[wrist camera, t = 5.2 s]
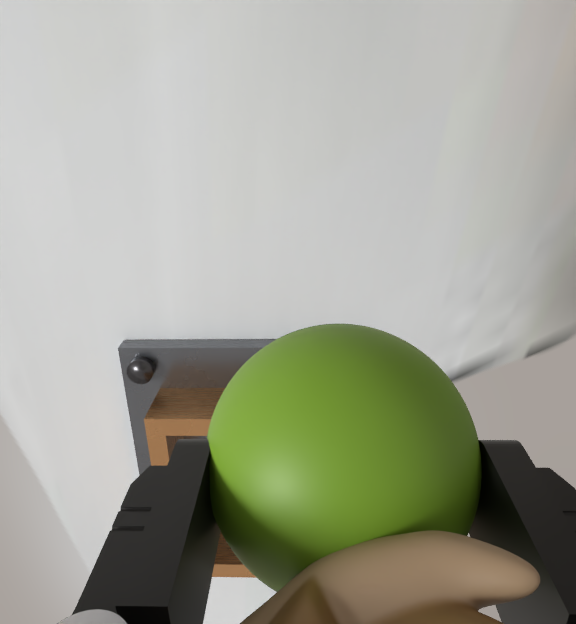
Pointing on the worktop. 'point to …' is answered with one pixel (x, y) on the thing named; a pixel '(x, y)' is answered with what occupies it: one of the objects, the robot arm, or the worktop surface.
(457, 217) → the worktop surface
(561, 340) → the worktop surface
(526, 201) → the worktop surface
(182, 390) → the socket plate
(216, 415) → the snail figurine
